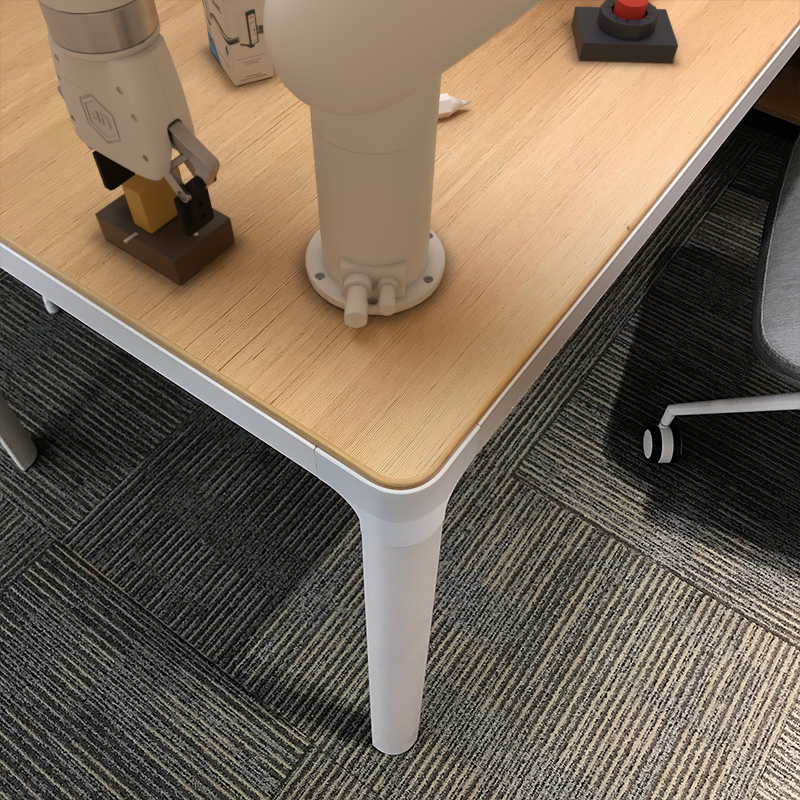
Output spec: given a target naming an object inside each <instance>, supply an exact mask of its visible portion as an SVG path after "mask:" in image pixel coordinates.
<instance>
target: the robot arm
mask: <svg viewBox="0 0 800 800" xmlns="http://www.w3.org/2000/svg"><path fill="white" fill-rule="evenodd" d="M37 2H38V5H39V7H40V10H41V13H42V16H43V18H44V21H45V24H46V29H47V36H48V43H49V49H50V54H51V59H52V63H53V67H54V70H55V75H56V78H57V81H58V84H59V85H57V91H58V93H59V95H60V96H61V98H62V100H63V102H64V103H65V107H66V109H67V110H66V111H67V112H68V115H69V118H70V121H71V123H72V126H73V129H74V131H75V134H76V136H77V137H78V138H79V139H80V140H81V142H83V143H84V144H85V145H86V146H87V147H88V148H89V149H90V150H92V152H91V154H92V158H93V159H94V163H95V165H96V168H97V171H98V173H99V176H100V179H101V181H102V184H103V187H104V188H105V189H107V190H108V191H111V192H112V191H115V190H116V189H117V188H119V187H120V186H122V184H123V183H124V182H126V181H127V180H128V179H130V178H131V177H133V176H134V175H136V174H138V175H140V176H142V177H145V178H147V179H150V180H155V181H158V180H161V179H162V178H163V177H164V178H165V179H166V180H167V182H168V183H169V184H170V186H171V187H172V189H173V190H174V191H175V193H176V194H177V196H176V197H175V198H174V203H175V207H176V210H177V214H178V217H179V221H180V224H181V228H182V231H183V234H185V235H186V236H188V237H191V236H192V235H194V234H195V233H196V232H197V231H199V230H200V229H201V228H203V227H204V226H205V225H207V224H208V223H209V222H210V221H212V220H213V218H214V213H213V209H212V208H213V205H212V200H211V196H210V193H209V187H210V186H211V185H213V184H214V183H215V182H217V180H218V178H217V176H218V174H219V170H220V167H221V163H220V161H219V159H218V158H217V156H215V155H214V154H213V153H212V151H210V149H208V148H207V147H206V146H205V145H204V144H203V143H202V141H201V140H199V138H197V137H196V132H195V127H194V123H193V118H192V115H191V111H190V108H189V104H188V101H187V98H186V95H185V91H184V88H183V86H182V82H181V79H180V76H179V73H178V70H177V68H176V65H175V63H174V60H173V57H172V55H171V52H170V49H169V48H168V45H167V42H166V40H165V38H164V36H163V35H162V34H161V22H160V18H159V14H158V9H157V5H156V2H155V0H37ZM542 2H543V0H265V5H264V14H263V31H264V39H265V44H266V48H267V52H268V55H269V58H270V61H271V63H272V66H273V71H274V72H275V74H276V75H277V77H278V78H279V80H280V82H282V84H283V85H284V87H285V88H286V89H287V90H288V91H289V92H290V93H291V94H292V95H293V96H295V97H296V98H297V99H298V100H299V101H301V102H303V103H304V104H305V105H307V106H308V107H309V112H310V113H309V114H310V126H311V138H312V150H313V162H314V172H315V184H316V185H315V186H316V195H317V208H318V218H319V219H318V220H319V228H318V229H317V230H316V232H314V234H313V236H312V237H311V238H310V239H309V242H308V244H307V247H306V249H305V256H304V257H305V258H304V261H305V270H306V274H307V278H308V280H309V282H310V284H311V285H312V287H313V289H314V290H315V292H317V293H318V294H319V295H320V297H321V298H323V299H324V300H326V301H327V302H328V303H330V304H331V305H334V306H336V307H337V308H339V309H342V310H344V311H343V312H344V313H343V322H344V324H345V325H346V326H347V327H350V328H352V329H353V328H354V329H360V328H363V327H365V326H366V325H367V322H368V318H369V317H368V316H378V315H379V316H381V315H382V316H384V317H385V316H386V317H388V316H392V315H394V314H396V313H400V312H403V311H406V310H410V309H412V308H413V307H415V306H418V305H420V304H421V303H423V302H424V301H425V300H427V299H428V298H430V297H431V296H432V294H433V293H434V292H435V291H436V290H437V289H438V287H439V286H440V283H441V282H442V281H443V277H444V273H445V268H446V253H445V248H444V246H443V244H442V241H441V239H440V238H439V236H438V235H437V234H436V233H435V231H434V230H433V229H432V228H431V220H432V208H433V206H432V205H433V191H434V179H435V163H436V149H437V135H438V122H439V119H438V115H439V101H440V94H441V86H442V85H441V84H442V75H443V74H445V72H447V71H448V70H450V69H452V68H453V67H454V66H455V65H457V64H458V63H460V62H461V61H462V60H464V59H465V58H467V57H468V56H469V55H471V54H472V53H473V52H475V51H476V50H478V49H479V48H481V47H482V46H483V45H485V44H486V43H488V42H489V41H490V40H492V39H493V38H495V37H496V36H497V35H498V34H500V33H501V32H503V31H504V30H506V29H507V28H508V27H510V26H511V25H513V24H514V23H515V22H517V21H518V20H520V19H521V18H522V17H523V16H526V14H527V13H529V12H530V11H531V10H533V9H534V8H536V6H538V5H539V4H540V3H542ZM173 150H175V151H177V152H178V155H177V156H175V157H174V158H173V157H172V155H173ZM182 164H184V166H185V167H186V168H187V170H188V171H189V173H190V174H191V175H192V177H191V178H190V179H189V180H188V181H187V182H185V183H184V181H183V179H182V180H181V179H180V177H179V176H178V174H177V173H176V172H175V170H174V169H175V168H177V167H180V166H181V165H182Z"/></svg>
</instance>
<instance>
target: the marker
mask: <svg viewBox="0 0 800 800" xmlns="http://www.w3.org/2000/svg"><path fill="white" fill-rule="evenodd" d="M470 103H473V101H472V100H467V99H461V98H458V97H454V96H452V95H449V93H448V92H444V93H440V101H439V115H438V120H439V119H445V118H450V117H451V115H452V114H453V113H455V112H457V111H458V110H460V109H461V108H464V107H466V106H468V105H469V104H470Z"/></svg>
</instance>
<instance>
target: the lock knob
mask: <svg viewBox="0 0 800 800" xmlns="http://www.w3.org/2000/svg"><path fill="white" fill-rule="evenodd" d="M174 170H175V172H176V173H177V174H178V176H179V177H180V179H181V180H182V181H183V177H182V174H181V170H180V166H178V167H177V168H175V169H174ZM121 188H122V190H123V194H125V197H126V199H127V202H128V205H129V208H130V211H131V214H132V217H133V220H134V223H135V224H136V225H138V226H139V227H141V228H143V229H144V230H146V231H148V232H149V233H151V234H152V233H154V232H155V231H157V230H158V229H159V228H161V227H162V226H163V225H165V224H166V223H167V222H169V221H170V220H171V219H173V218H174V217H175V216H177V215H178V214H177V210H176V207H175V203H174V198H175V197H176V196H177V194H176V193H175V191H174V190H173V189H172V187H171V186H170V184H169V183H168V182H167V180H166V179H165V178H164V177H163V178H162V179H161V180H158V181H155V180H150V179H147V178H145V177H142V176H140V175H138V174H135V175H134V176H133V177H131V178H130V179H128V180H127V181H126V182H124V183H123V184H122V185H121Z"/></svg>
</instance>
